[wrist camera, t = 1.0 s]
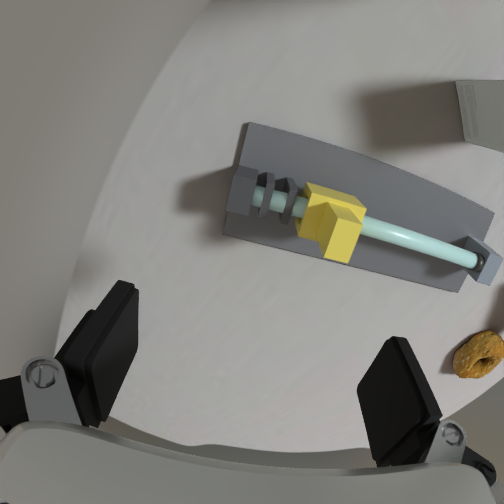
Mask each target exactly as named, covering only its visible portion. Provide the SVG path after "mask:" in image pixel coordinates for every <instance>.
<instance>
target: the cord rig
mask: <svg viewBox="0 0 504 504" xmlns="http://www.w3.org/2000/svg"><path fill="white" fill-rule="evenodd" d="M306 182H309V183H312V184H316V185H319V186H322V187H326V188H329V189H333V190H336V191H339V192H343V193H346V194H349V195H352V196H355V197H356V198H357V199H358V200H359V201H360V202H361V203H362V204H363V205H364V206H365V207H366V208H367V210H366V213H365V215H364V218H363V221H362V224H363V227H362V229H361V232H360V235H359V237H358V240H357V242H356V245H355V247H354V250H353V252H352V255H351V257H350V260H349V262H348V263H344V262H340V261H336V260H332V259H328V258H324V257H323V254H322V251H321V249H320V246H319V243H318V241H314V240H310V239H306V238H302V237H298V234H297V230H296V226H295V222H294V220H295V216H296V217H300V218H302V217H303V214H304V211H305V208H306V204H307V201H308V199H307V198H303V197H302V194H303V190H304V187H305V184H306ZM226 211H228V213H227V217H226V222H225V226H224V231H223V235H227V236H231V237H235V238H240V239H244V240H248V241H252V242H256V243H260V244H264V245H269V246H273V247H277V248H281V249H285V250H289V251H293V252H297V253H302V254H306V255H310V256H314V257H318V258H322V259H326V260H330V261H334V262H338V263H342V264H346V265H350V266H354V267H358V268H362V269H366V270H370V271H374V272H378V273H382V274H386V275H390V276H394V277H398V278H402V279H406V280H410V281H414V282H417V283H421V284H425V285H429V286H433V287H437V288H441V289H445V290H449V291H452V292H456V293H458V292H459V290H460V288H461V286H462V284H463V282H464V280H465V278H466V277H467V275H468V274H469V275H470V276H471V277H472V278H473V279H474V280H475V281H476V282H479V283H482V284H485V285H488V286H490V284H491V283H492V281H493V279H494V277H495V275H496V273H497V271H498V269H499V267H500V265H501V263H502V260H503V258H502V257H501V256H500V255H499V254H497V253H496V252H495V251H494V250H493V249H491V248H490V247H489V246H488V245H486V244H485V243H484V242H483V241H484V238H485V236H486V234H487V231H488V229H489V226H490V224H491V221H492V219H493V216H494V214H495V213H494V212H492V211H490V210H488V209H486V208H484V207H482V206H480V205H478V204H477V203H475V202H473V201H471V200H469V199H467V198H465V197H462V196H460V195H458V194H456V193H454V192H452V191H450V190H448V189H446V188H443V187H441V186H439V185H437V184H434V183H432V182H430V181H428V180H425V179H423V178H421V177H418V176H416V175H414V174H411V173H409V172H406V171H404V170H401V169H399V168H396V167H394V166H391V165H389V164H386V163H383V162H381V161H378V160H375V159H372V158H370V157H367V156H364V155H361V154H358V153H356V152H353V151H350V150H347V149H344V148H341V147H338V146H335V145H331V144H328V143H325V142H322V141H319V140H315V139H312V138H308V137H305V136H302V135H298V134H294V133H291V132H287V131H283V130H280V129H276V128H272V127H268V126H264V125H260V124H256V123H251V122H249V125H248V129H247V133H246V137H245V141H244V145H243V149H242V153H241V157H240V161H239V165H238V167H237V169H236V171H235V173H234V175H233V179H232V184H231V188H230V192H229V197H228V201H227V205H226Z"/></svg>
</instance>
